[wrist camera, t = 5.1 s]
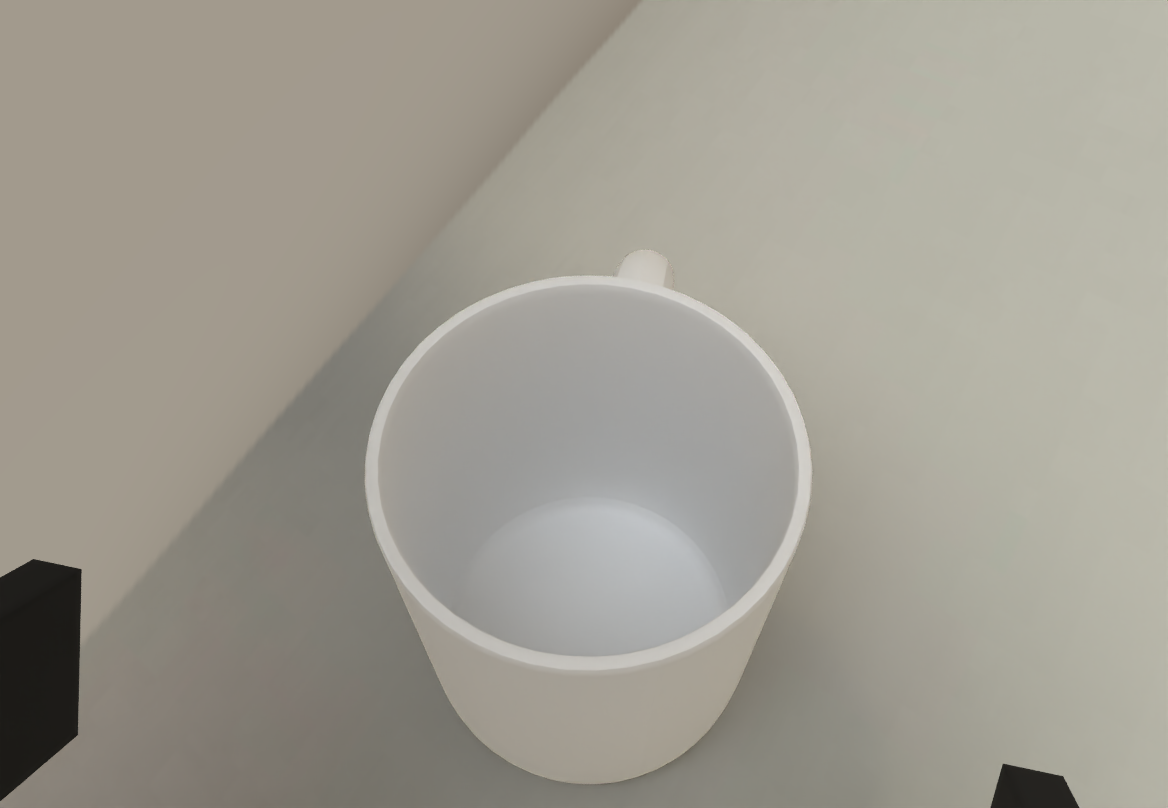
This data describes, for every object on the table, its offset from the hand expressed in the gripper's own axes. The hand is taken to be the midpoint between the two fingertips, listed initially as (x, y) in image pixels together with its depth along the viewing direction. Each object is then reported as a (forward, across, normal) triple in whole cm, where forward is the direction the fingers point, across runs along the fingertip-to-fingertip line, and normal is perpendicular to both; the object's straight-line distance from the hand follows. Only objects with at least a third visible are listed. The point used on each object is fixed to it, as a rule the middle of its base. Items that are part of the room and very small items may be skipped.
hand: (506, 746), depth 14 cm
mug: (+14, 0, -3) cm, 15 cm away
